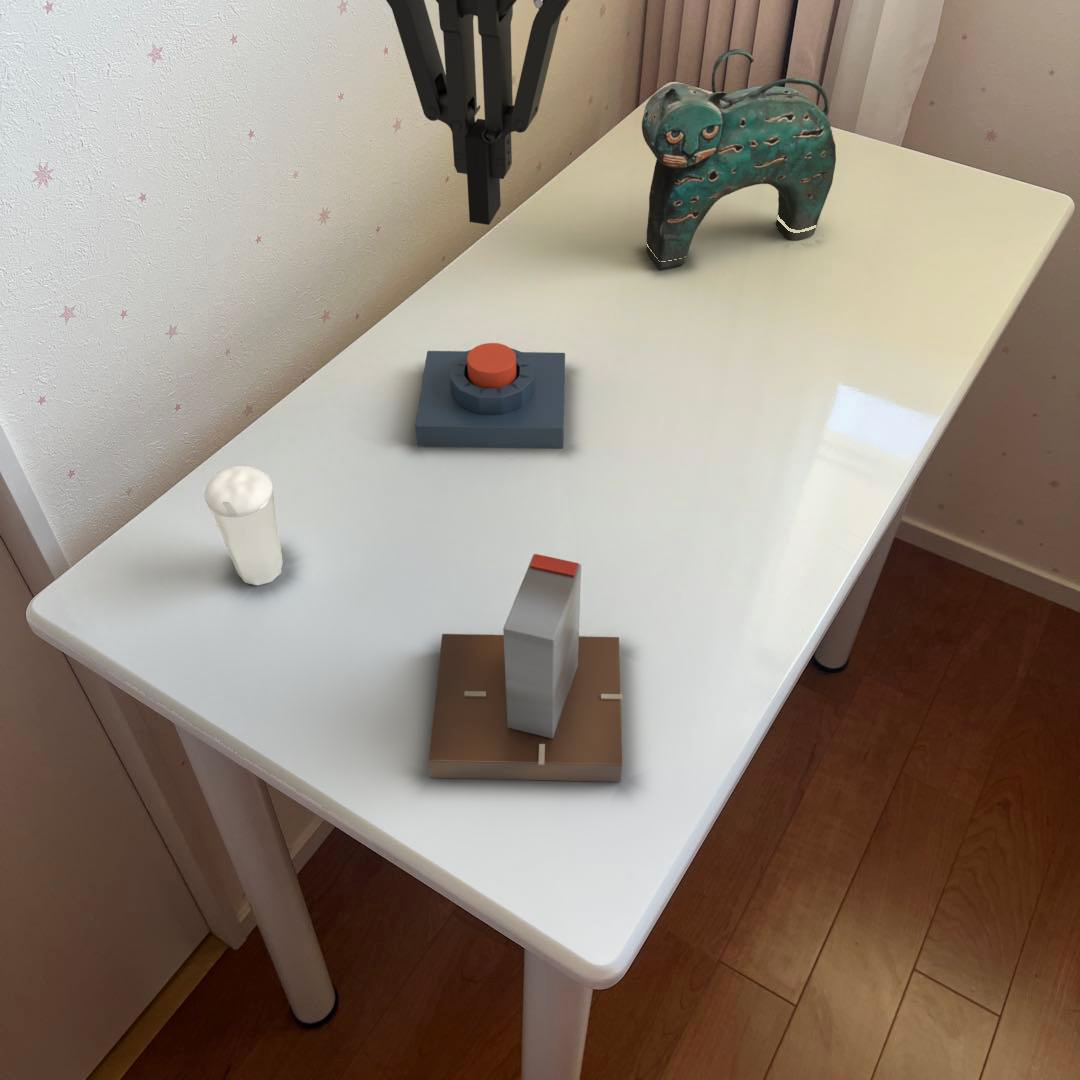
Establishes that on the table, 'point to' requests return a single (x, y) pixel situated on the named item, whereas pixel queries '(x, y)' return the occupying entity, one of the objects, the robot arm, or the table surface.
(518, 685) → the grey slab
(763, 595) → the table surface
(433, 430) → the button block
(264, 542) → the milkshake
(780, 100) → the ceramic cat
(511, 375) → the button
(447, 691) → the panel
